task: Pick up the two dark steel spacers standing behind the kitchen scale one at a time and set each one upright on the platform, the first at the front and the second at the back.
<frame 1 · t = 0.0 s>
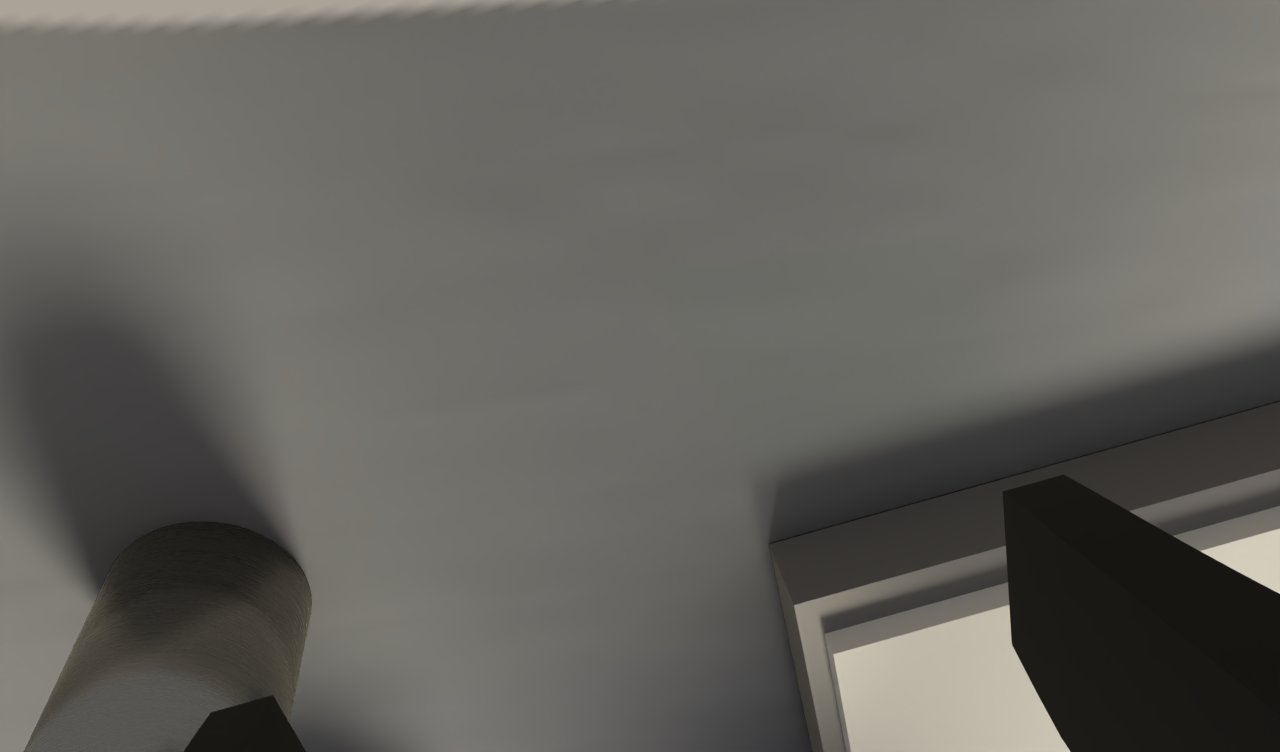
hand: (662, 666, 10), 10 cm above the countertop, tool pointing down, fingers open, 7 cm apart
steel spacer b: (210, 601, 21), on the countertop
kitchen scale: (1172, 639, 26), on the countertop
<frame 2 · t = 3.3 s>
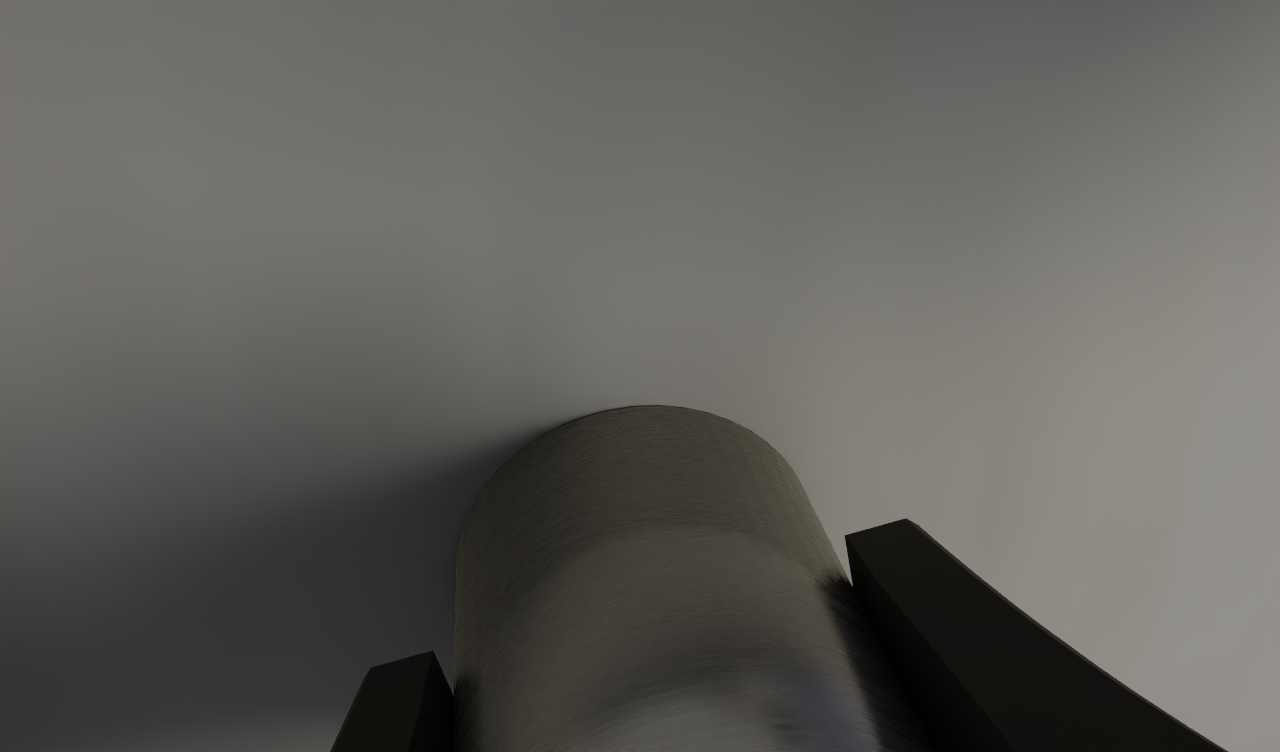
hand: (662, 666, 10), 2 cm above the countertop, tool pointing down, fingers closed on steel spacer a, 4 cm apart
steel spacer a: (638, 561, 11), on the countertop, touching gripper
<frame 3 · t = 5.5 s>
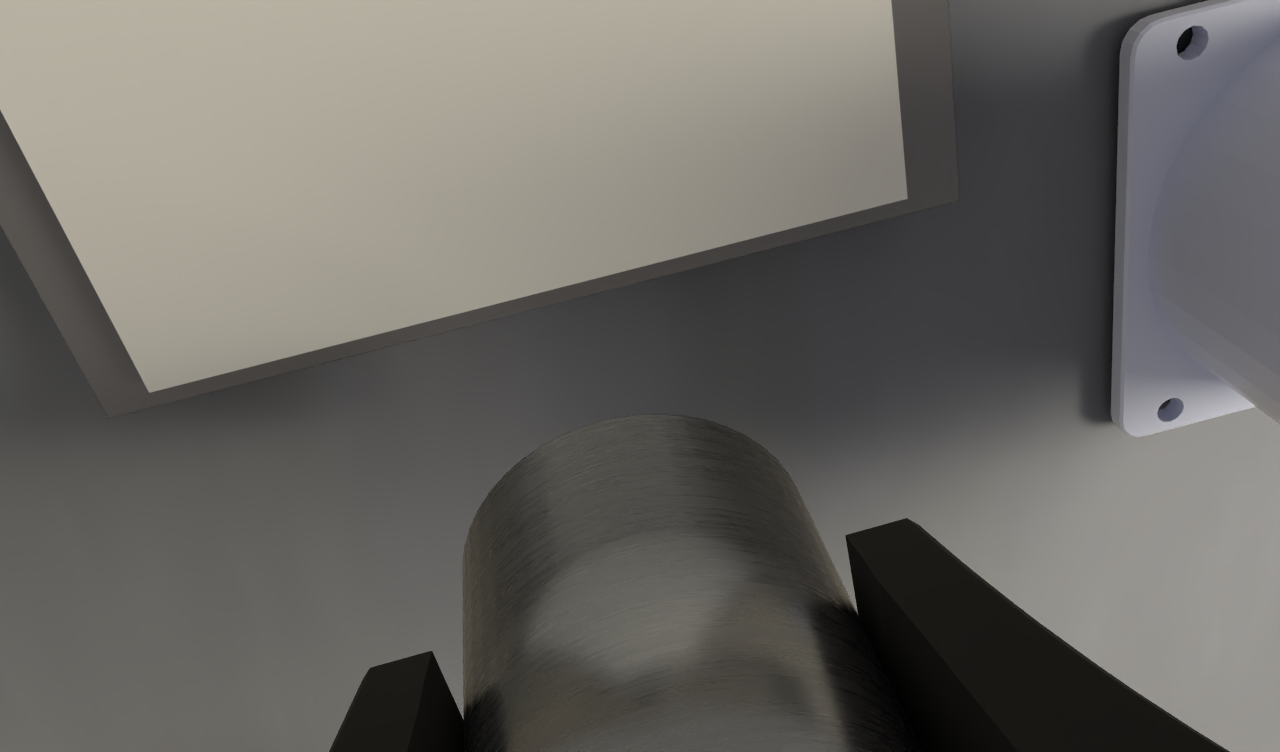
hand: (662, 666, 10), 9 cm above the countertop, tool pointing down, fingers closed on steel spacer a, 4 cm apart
steel spacer a: (638, 561, 12), point 7 cm above the countertop, touching gripper
when the fingers open (5 cm above the countertop, at t = 8.0 s): steel spacer a stays where it is, resting on kitchen scale.
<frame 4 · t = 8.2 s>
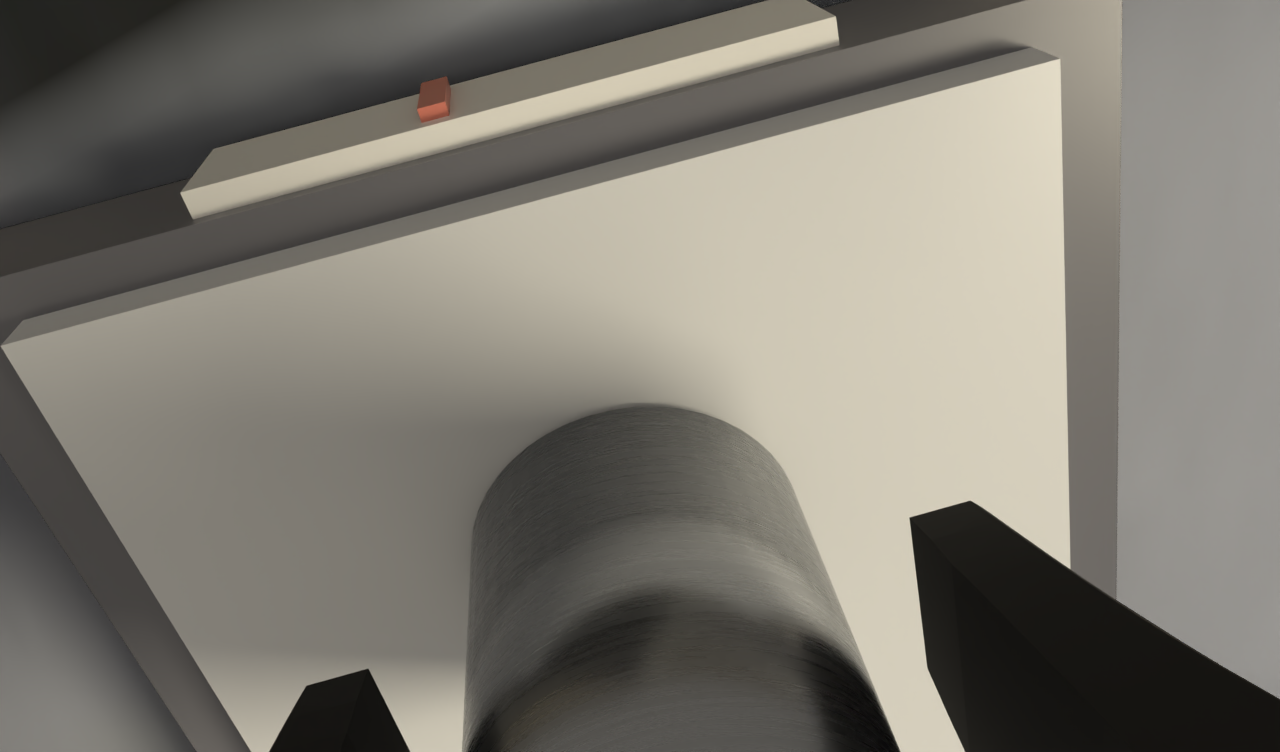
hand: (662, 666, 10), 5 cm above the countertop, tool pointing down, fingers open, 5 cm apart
steel spacer a: (638, 547, 12), point 3 cm above the countertop, touching kitchen scale
kitchen scale: (674, 653, 17), on the countertop
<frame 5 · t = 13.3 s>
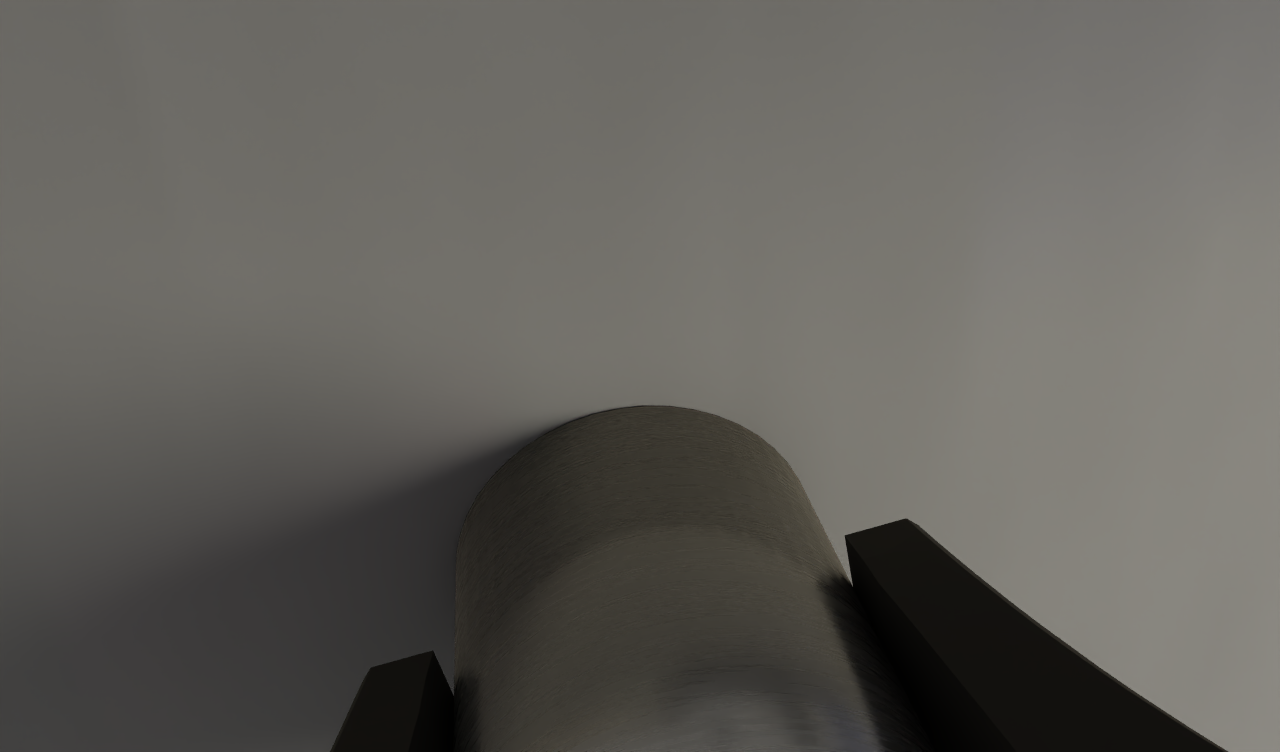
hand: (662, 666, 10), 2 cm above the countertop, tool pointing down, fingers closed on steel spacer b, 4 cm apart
steel spacer b: (638, 562, 11), on the countertop, touching gripper
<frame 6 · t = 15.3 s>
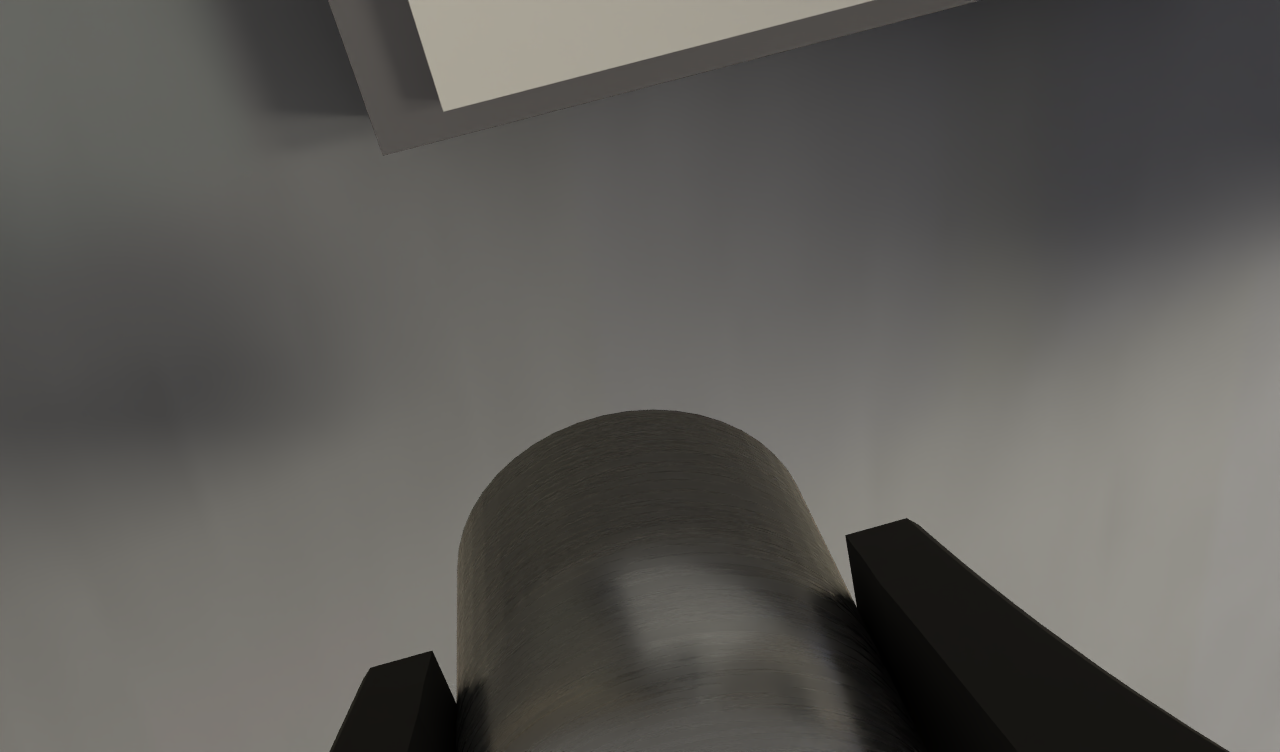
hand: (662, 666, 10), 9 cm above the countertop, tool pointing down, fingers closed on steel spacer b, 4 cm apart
steel spacer b: (636, 561, 12), point 7 cm above the countertop, touching gripper
when the fingers open (5 cm above the countertop, at t = 17.4 s): steel spacer b stays where it is, resting on kitchen scale.
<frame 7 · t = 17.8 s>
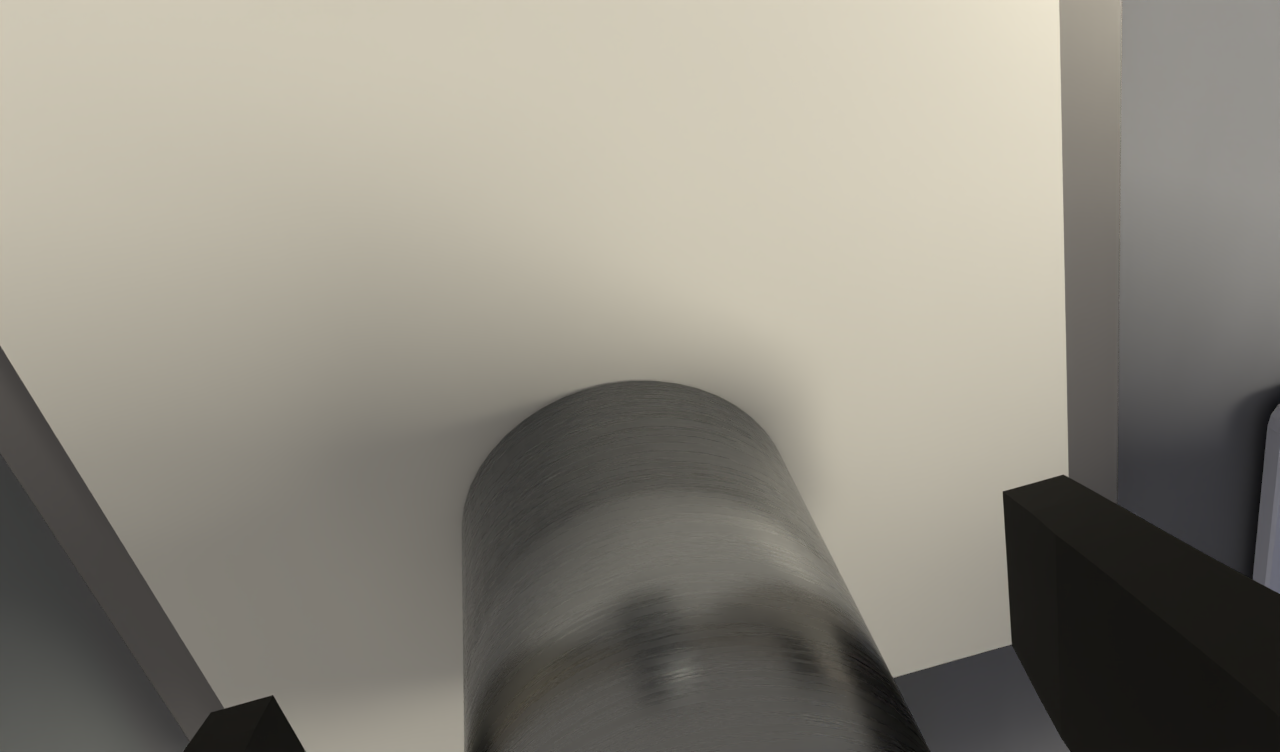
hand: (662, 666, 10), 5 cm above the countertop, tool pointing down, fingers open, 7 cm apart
steel spacer b: (629, 526, 12), point 3 cm above the countertop, touching kitchen scale
kitchen scale: (499, 50, 12), on the countertop
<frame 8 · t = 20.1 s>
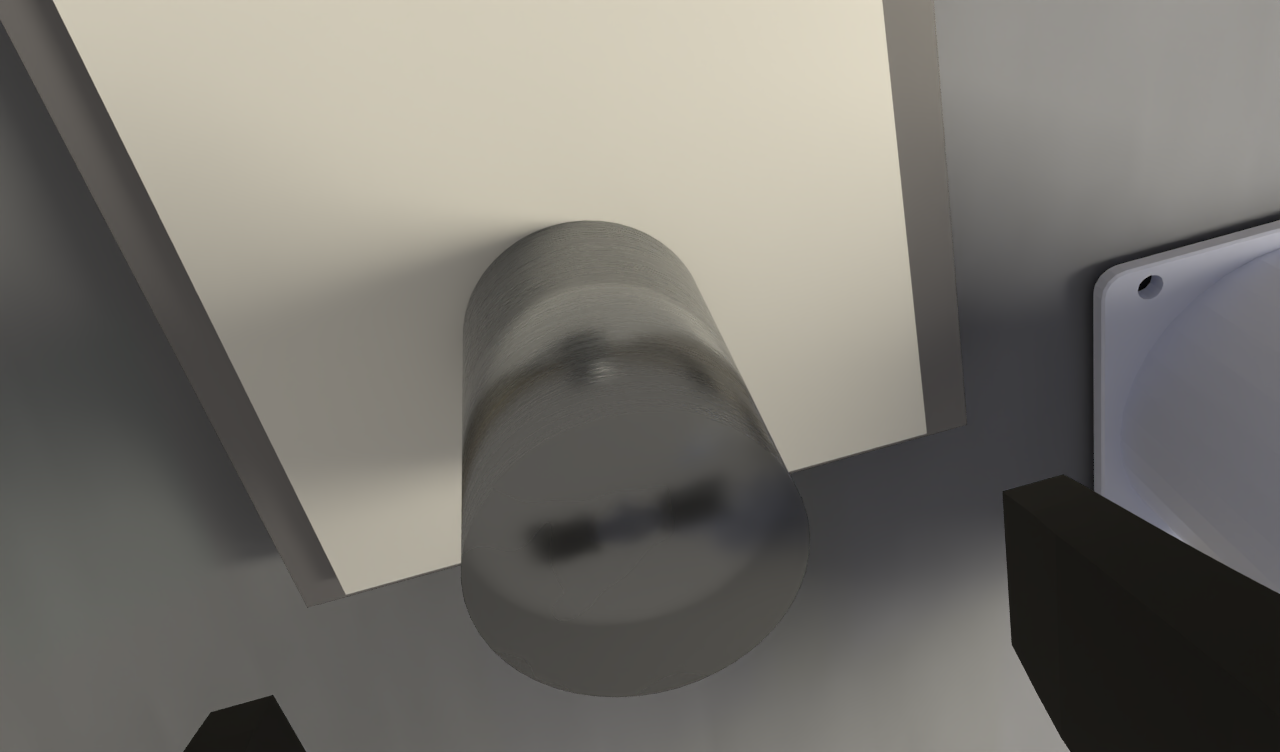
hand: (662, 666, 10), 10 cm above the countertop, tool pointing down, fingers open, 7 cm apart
steel spacer b: (586, 336, 17), point 3 cm above the countertop, touching kitchen scale
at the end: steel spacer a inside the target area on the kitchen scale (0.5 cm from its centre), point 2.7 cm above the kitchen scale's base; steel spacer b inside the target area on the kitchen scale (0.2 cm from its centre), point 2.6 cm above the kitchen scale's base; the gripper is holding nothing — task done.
